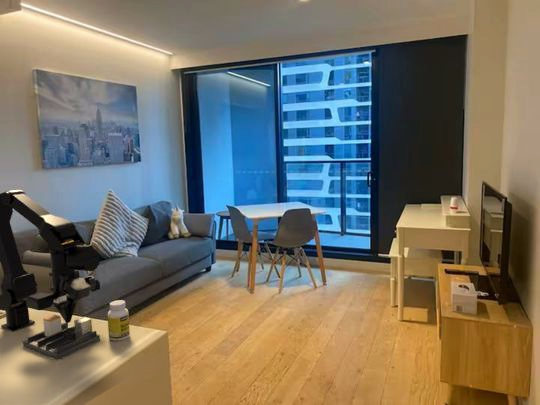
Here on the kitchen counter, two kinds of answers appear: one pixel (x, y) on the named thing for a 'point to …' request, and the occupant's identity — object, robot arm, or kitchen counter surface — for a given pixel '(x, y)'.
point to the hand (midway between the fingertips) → (68, 322)
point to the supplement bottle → (118, 321)
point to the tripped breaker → (52, 325)
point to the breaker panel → (64, 339)
